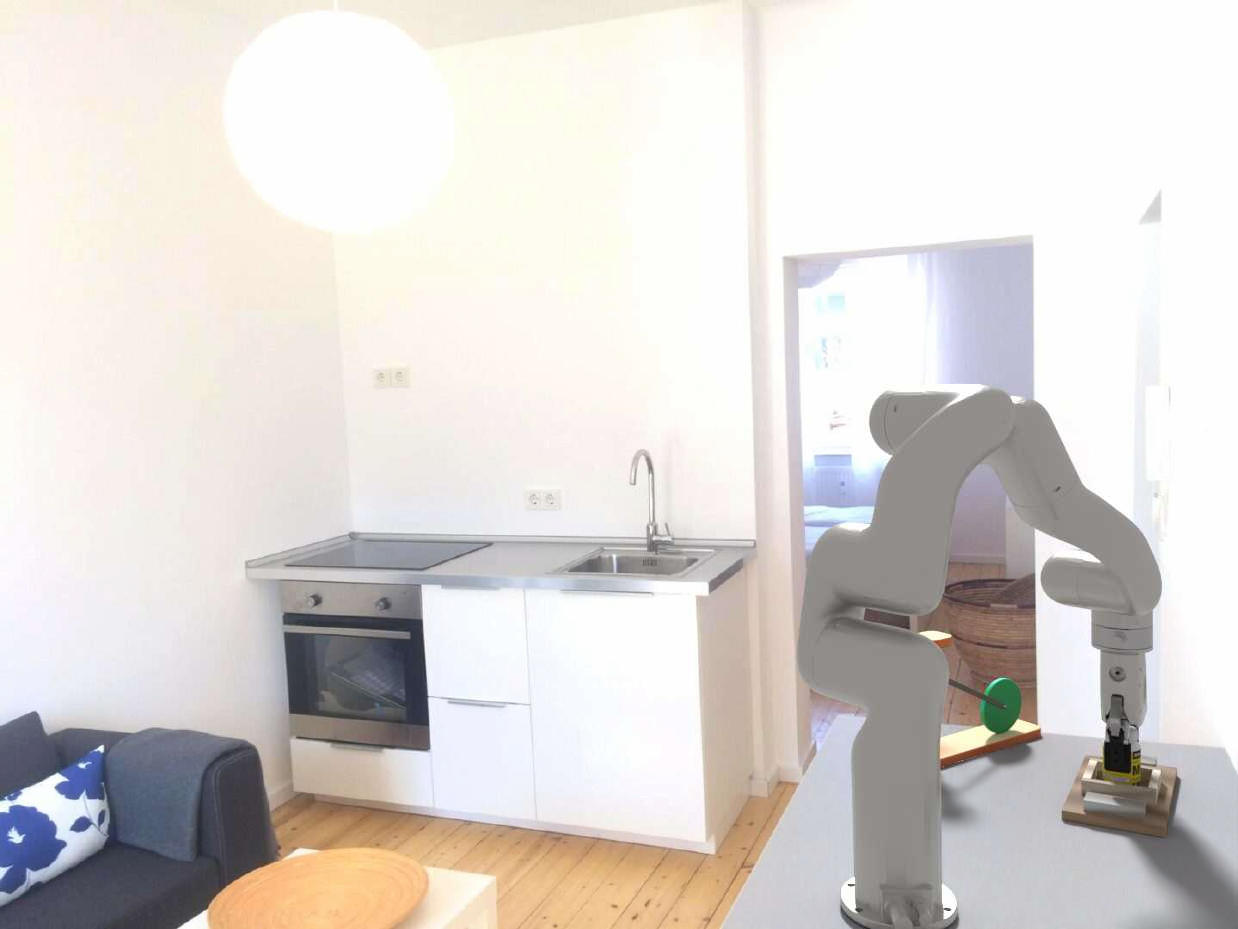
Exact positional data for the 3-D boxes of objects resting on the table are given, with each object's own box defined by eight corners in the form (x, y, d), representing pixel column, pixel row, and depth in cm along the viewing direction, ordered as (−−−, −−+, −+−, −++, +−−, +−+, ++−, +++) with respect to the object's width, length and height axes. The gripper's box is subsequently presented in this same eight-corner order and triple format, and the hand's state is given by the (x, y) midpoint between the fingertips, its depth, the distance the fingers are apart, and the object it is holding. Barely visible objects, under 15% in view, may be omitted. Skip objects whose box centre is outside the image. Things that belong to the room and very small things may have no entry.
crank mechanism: (933, 770, 154) (931, 643, 152) (900, 757, 160) (898, 634, 158) (1045, 735, 166) (1044, 618, 164) (1011, 724, 172) (1010, 610, 170)
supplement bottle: (1139, 797, 138) (1138, 736, 138) (1100, 791, 141) (1100, 730, 140) (1142, 784, 142) (1142, 725, 142) (1104, 778, 145) (1104, 720, 144)
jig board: (1164, 837, 129) (1164, 812, 129) (1061, 819, 136) (1061, 795, 135) (1177, 776, 148) (1177, 754, 148) (1085, 762, 154) (1085, 741, 154)
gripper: (1146, 655, 130) (1146, 786, 132) (1158, 624, 145) (1158, 743, 147) (1082, 649, 134) (1082, 776, 136) (1099, 619, 149) (1100, 735, 151)
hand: (1121, 759), depth 141 cm, fingers open, 9 cm apart
